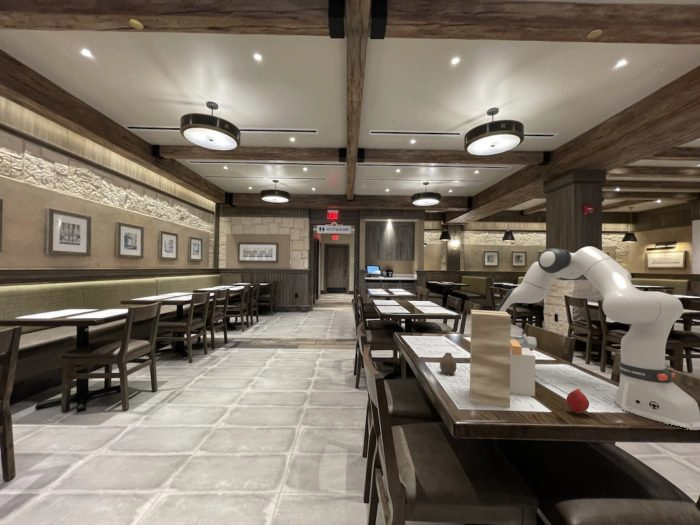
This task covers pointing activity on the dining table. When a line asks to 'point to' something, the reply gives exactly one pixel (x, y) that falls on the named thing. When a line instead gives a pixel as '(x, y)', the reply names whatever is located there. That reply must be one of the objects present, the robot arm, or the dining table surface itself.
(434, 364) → the dining table surface
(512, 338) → the orange bar
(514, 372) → the white box
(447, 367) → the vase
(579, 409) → the onion
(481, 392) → the tall stand
